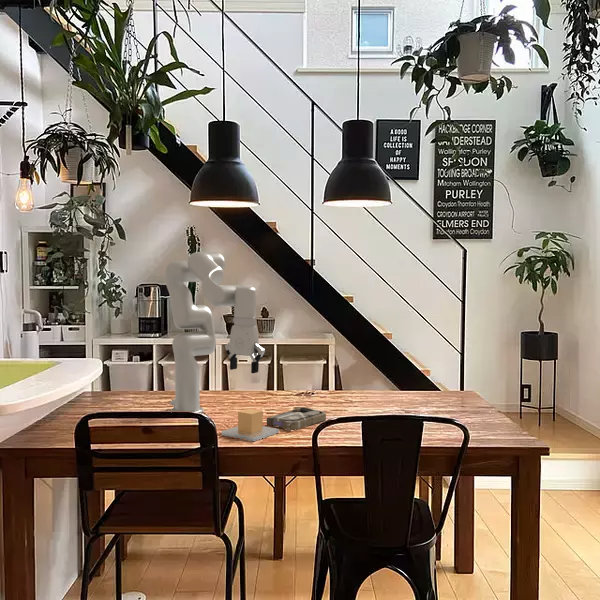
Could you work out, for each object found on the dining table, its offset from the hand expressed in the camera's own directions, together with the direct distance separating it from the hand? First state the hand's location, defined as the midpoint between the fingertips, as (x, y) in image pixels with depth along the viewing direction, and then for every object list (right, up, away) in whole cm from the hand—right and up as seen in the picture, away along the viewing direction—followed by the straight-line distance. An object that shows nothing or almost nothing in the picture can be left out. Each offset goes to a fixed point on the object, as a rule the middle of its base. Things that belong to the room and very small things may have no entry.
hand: (244, 370), depth 232 cm
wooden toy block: (+2, -20, -3) cm, 20 cm away
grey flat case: (+18, -21, +16) cm, 32 cm away
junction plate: (+2, -22, -3) cm, 22 cm away
